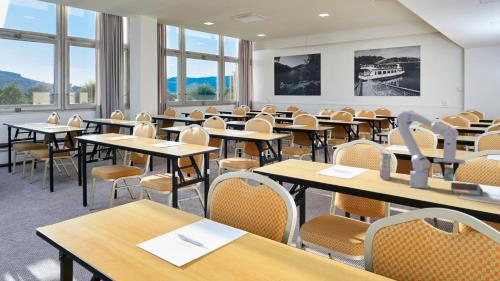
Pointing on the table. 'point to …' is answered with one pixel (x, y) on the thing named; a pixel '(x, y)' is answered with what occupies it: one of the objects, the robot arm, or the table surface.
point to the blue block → (448, 174)
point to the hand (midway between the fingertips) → (448, 176)
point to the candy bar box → (385, 165)
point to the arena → (466, 189)
